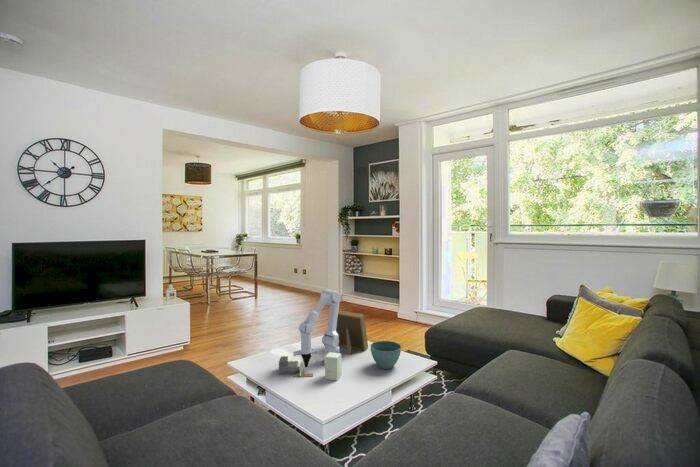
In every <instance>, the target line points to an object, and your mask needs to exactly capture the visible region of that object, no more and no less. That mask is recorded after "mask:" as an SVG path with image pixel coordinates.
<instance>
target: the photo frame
mask: <svg viewBox="0 0 700 467" xmlns="http://www.w3.org/2000/svg"><path fill="white" fill-rule="evenodd" d="M365 318H366V317H365V314H363V313H357V312H351V311H345V310H338V318H337V326H336V332H337V333H338V335H339V344H338V346H342V347H345V348H346V350H347V351H346V352H347V354H349V355H352V349H353V350H359V351H363V352H366V351H367V350H368V349H369V344H368V335H367V328H366V319H365Z"/></svg>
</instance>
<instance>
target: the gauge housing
mask: <svg viewBox="0 0 700 467" xmlns="http://www.w3.org/2000/svg"><path fill="white" fill-rule="evenodd" d="M297 367H299V366H298V361H296V360H294V361H292V360H291V361H289V356H288V355H287V356H283V355H282V356H280V358H279V360H278V375H293V374H297V371H298V369H297Z"/></svg>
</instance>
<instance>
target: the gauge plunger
mask: <svg viewBox="0 0 700 467" xmlns="http://www.w3.org/2000/svg"><path fill="white" fill-rule="evenodd" d="M304 368H305V365H304V361H300V364H299V366H298V367H297V370H299V374H300V376H301V374H304V373H303V372H304Z"/></svg>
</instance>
